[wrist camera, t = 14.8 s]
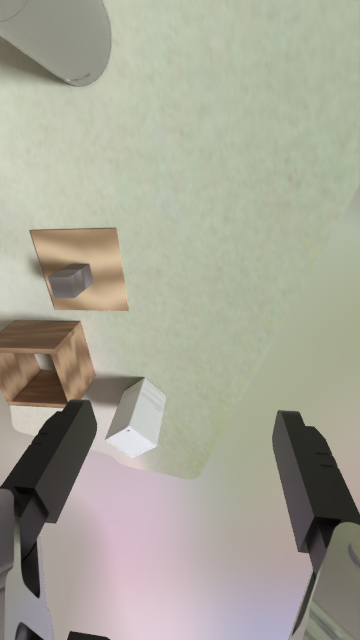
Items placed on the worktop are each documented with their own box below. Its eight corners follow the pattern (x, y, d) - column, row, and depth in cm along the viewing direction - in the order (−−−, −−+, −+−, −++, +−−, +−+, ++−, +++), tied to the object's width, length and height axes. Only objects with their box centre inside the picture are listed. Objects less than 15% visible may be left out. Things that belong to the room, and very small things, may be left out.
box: (15, 320, 50) (-23, 347, 42) (80, 321, 49) (54, 349, 40) (37, 373, 57) (8, 405, 49) (95, 375, 55) (75, 408, 47)
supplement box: (123, 390, 57) (102, 440, 46) (145, 376, 54) (128, 425, 43) (145, 409, 59) (130, 460, 48) (167, 396, 56) (157, 447, 45)
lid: (33, 229, 41) (-2, 239, 34) (117, 227, 40) (98, 237, 33) (58, 307, 48) (32, 328, 41) (129, 308, 47) (115, 330, 40)
